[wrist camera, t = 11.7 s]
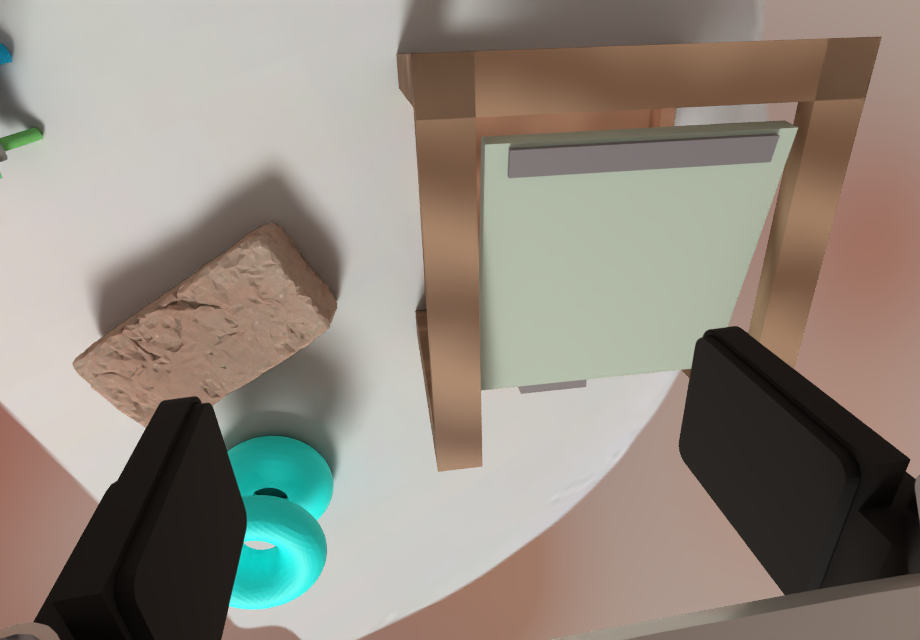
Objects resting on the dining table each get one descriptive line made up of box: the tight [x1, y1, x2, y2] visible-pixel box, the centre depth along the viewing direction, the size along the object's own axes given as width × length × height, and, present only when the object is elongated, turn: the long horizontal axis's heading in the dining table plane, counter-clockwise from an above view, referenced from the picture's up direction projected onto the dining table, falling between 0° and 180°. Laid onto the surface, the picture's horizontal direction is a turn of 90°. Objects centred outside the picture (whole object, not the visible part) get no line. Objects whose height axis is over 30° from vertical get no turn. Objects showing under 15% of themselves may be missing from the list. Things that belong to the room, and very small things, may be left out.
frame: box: [397, 37, 881, 472], centre depth 35 cm, size 24×20×16 cm
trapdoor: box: [479, 121, 798, 390], centre depth 28 cm, size 14×14×1 cm
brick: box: [73, 223, 337, 428], centre depth 40 cm, size 16×8×5 cm, turn 122°
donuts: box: [227, 436, 333, 609], centre depth 44 cm, size 10×10×10 cm
